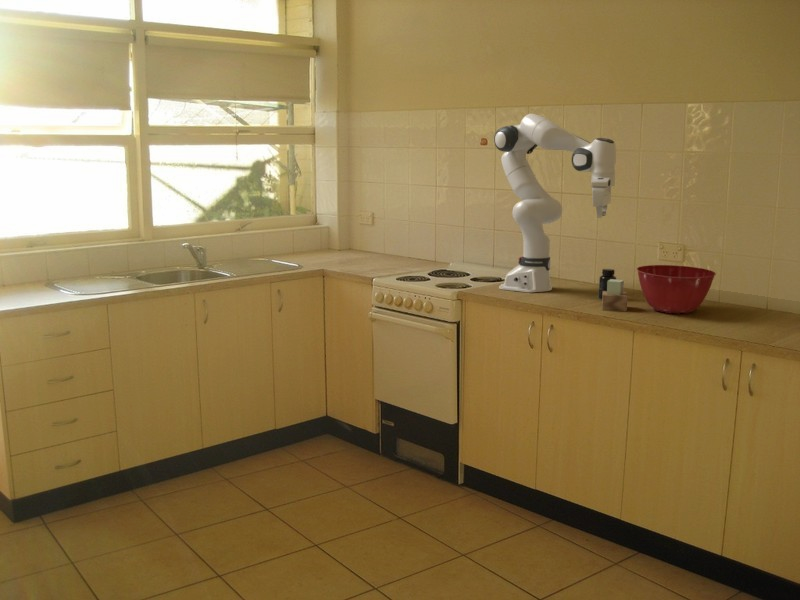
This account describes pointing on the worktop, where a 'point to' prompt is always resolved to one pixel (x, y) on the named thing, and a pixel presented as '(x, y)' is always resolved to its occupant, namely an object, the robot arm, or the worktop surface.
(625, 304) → the pinkish brown block
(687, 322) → the worktop surface
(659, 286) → the mixing bowl
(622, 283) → the sage block
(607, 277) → the supplement bottle
